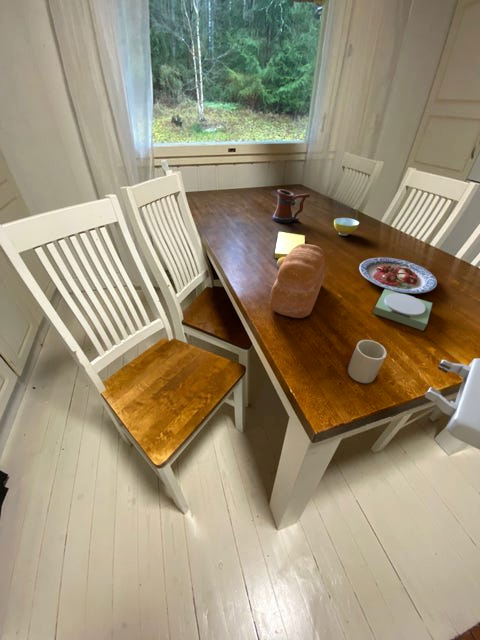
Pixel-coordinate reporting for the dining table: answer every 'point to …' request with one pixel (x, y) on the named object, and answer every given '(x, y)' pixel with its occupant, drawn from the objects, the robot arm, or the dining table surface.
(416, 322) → the scale
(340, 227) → the bowl
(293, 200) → the mug
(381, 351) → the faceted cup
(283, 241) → the pale yellow flat slab
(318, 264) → the bread
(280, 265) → the bread roll
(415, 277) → the ceramic plate
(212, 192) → the dining table surface
